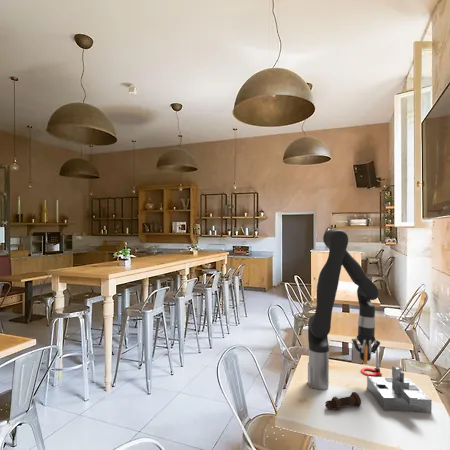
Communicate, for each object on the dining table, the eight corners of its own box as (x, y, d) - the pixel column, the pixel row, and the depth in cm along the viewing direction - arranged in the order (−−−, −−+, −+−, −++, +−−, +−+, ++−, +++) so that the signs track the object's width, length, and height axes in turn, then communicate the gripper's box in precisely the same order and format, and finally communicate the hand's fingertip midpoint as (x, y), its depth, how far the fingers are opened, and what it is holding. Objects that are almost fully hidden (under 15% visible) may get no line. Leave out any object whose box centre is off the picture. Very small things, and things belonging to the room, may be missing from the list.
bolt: (326, 413, 136) (356, 406, 140) (332, 413, 132) (363, 406, 136) (321, 397, 139) (351, 391, 143) (327, 397, 134) (358, 391, 139)
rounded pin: (363, 364, 158) (364, 343, 158) (361, 362, 161) (362, 342, 161) (368, 364, 158) (368, 343, 158) (366, 362, 160) (367, 342, 160)
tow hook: (364, 377, 166) (383, 377, 165) (363, 351, 166) (381, 351, 165) (358, 370, 174) (376, 369, 174) (357, 345, 174) (375, 345, 174)
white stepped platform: (388, 417, 130) (389, 382, 130) (367, 387, 154) (367, 358, 154) (438, 420, 128) (438, 384, 128) (408, 389, 152) (409, 359, 152)
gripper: (354, 326, 156) (353, 362, 156) (384, 328, 155) (382, 364, 155) (349, 321, 164) (348, 356, 164) (377, 323, 163) (376, 357, 163)
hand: (365, 359), depth 159 cm, fingers closed on rounded pin, 2 cm apart
